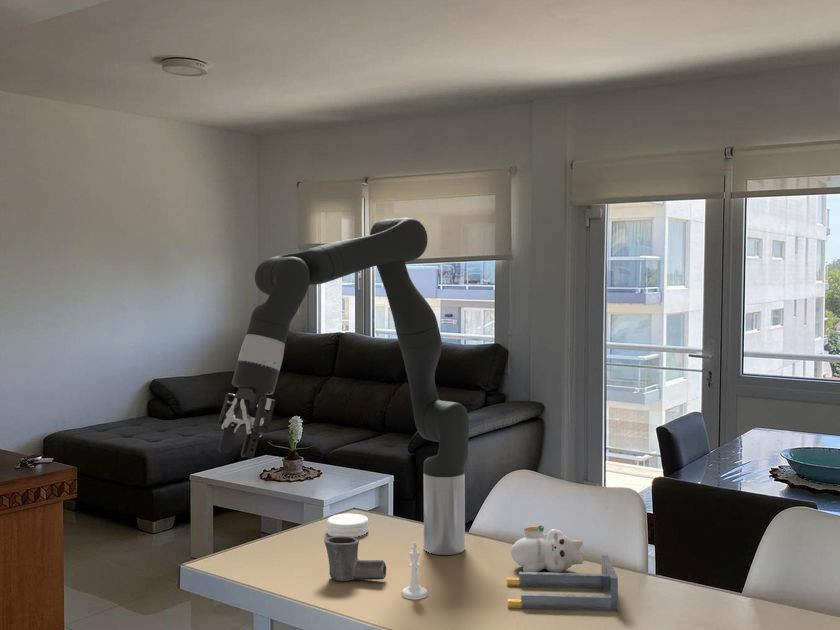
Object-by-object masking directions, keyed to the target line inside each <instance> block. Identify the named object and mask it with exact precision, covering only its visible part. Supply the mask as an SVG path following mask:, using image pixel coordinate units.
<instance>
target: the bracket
mask: <svg viewBox="0 0 840 630" xmlns="http://www.w3.org/2000/svg"><path fill="white" fill-rule="evenodd" d="M518 575H519V576H518V577H512V576H511V577H510V576H509V577H508V576H507V577H506V586H509V587H512V586H513V587H538V588H540V587H543V588H545V587H547V588H576V589H580V588H581V589H582V588H583V589H584V588H585V589H602V591H603V594H604V595H603V594H576V593H573V594H570V593H545V592H544V593H543V592H542V593H541V592H540V593H539V592H520V598H519V599H518V598H507V609H527V610H528V609H532V610H534V609H535V610H560V611H561V610H565V611H589V612H590V611H593V612H594V611H596V612H601V611H602V612H618V611H619V610H618V609H619V604H618V603H619V602H618V601H619V596H618V595H619V594H618V593H619V583H618V581H619V579H618V576H617V573H616V571H615V569H614V567H613V564H612V562H611V560H610V558H609V555H601V573H587V572H586V573H581V572H575V573H574V572H557V573H552V572H549V571H547V572H546V571H542V572H541V571H538V572H524V571H518Z"/></svg>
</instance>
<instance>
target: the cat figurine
mask: <svg viewBox="0 0 840 630" xmlns="http://www.w3.org/2000/svg"><path fill="white" fill-rule="evenodd" d="M544 530H545V527H544V525H541V524H540V525H529V526H526V527H524V528H523V531H524V533H523V537H522V538H519V539H518V540H517V541H515V542H514V544H512V547H511V550H510V555H511V557H512V560H513V561H514V562H515V563H516V564H517V565H518V566H520V567H523V568H522V572H541V571H542V570H547V572H549V573H562V572H563V571H564V572H565V571H566V570H568V569H570V568H571V567H572V566H573V565H574V566H575V565H582V564H584V558H583V557H582V556H581V555H579V553H578V552H579V550H580V549H581V548H582V547H583V546H584V545H583V544H584V542H583V540H581V539H572V538H570V537H569V536H568V535H565V534H564V532H562V530H560V529H556V528H552V529H550V530H548V532H547V533H544Z"/></svg>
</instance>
